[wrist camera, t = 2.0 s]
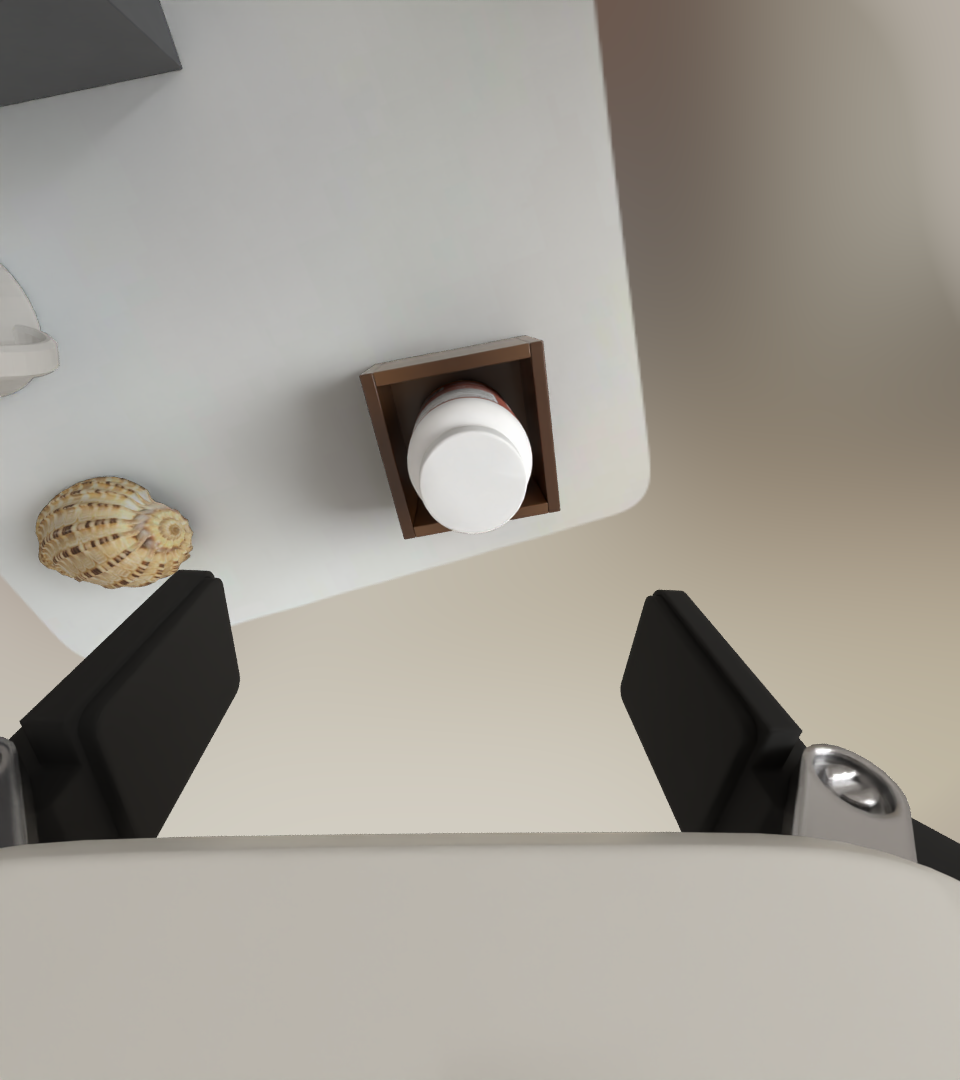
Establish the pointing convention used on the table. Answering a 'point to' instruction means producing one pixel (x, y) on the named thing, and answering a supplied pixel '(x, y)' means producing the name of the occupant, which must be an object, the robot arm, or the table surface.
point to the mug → (21, 339)
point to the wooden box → (411, 380)
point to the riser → (79, 45)
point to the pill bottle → (469, 457)
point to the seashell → (112, 534)
